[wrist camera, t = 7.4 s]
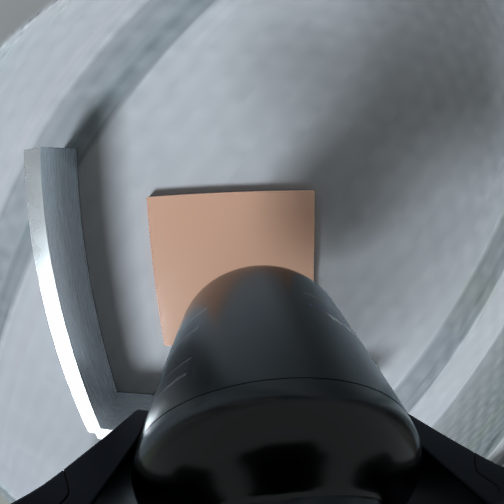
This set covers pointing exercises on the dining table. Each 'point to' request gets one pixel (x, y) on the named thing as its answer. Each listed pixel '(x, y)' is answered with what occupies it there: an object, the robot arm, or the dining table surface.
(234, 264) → the terracotta tile
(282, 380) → the supplement bottle
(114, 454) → the robot arm
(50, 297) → the corner walls
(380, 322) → the dining table surface
